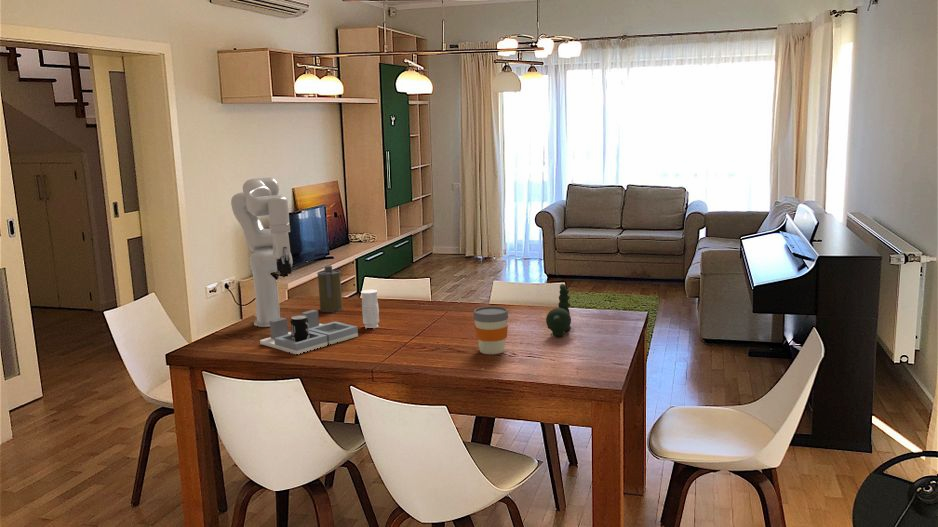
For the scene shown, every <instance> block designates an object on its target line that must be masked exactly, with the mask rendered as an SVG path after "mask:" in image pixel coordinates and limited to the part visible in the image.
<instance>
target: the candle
mask: <svg viewBox="0 0 938 527" xmlns="http://www.w3.org/2000/svg"><path fill="white" fill-rule="evenodd" d="M360 293H361V312H362V313H361V314H362V324H364V326H363V327H365V328H364V329H367V328H373V329H377V328H379V324H378V323H379V322H380V314H379V313H380V312H379V308H380V307H379V303H378V290H377V289H363V290H361V291H360Z"/></svg>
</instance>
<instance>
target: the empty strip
mask: <svg viewBox="0 0 938 527" xmlns="http://www.w3.org/2000/svg"><path fill="white" fill-rule="evenodd" d="M300 315H306V316H307V319H308V325H309V331H312V332H316V333H319V334H323V335H327V344H329V346H331V345H333V344H337V342H338V343H341V342H344V341H347V340H351V339H355V338H356V337H359V331H358V326H356V325H352V324H347V323H344V322H340V321H336V320H335V321H332V322H327V323H320V318H319V310H317V309H310V310H307V311H304V312H301V314H300ZM330 344H331V345H330Z"/></svg>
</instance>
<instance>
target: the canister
mask: <svg viewBox="0 0 938 527" xmlns="http://www.w3.org/2000/svg"><path fill="white" fill-rule="evenodd" d="M341 273H342V272H341V270H339V269H333V265H332V264H331V265H325V266H324V269H323V270H319V271H318V272H316V274H317V279H318V280H317V282H318V296H319V311H320V312H322V313H335V311H336V312H339V311H342V310H343V309H344V307H343V298H342V297H343V296H342V280H341Z"/></svg>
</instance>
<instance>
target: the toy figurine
mask: <svg viewBox="0 0 938 527" xmlns="http://www.w3.org/2000/svg"><path fill="white" fill-rule="evenodd" d="M569 292H570V291H569V289H568V288H567V285H566V284H564V283H561V284H560V285H559V296H558V301H559V302H558V304H557V306H558V307H555V308H553V309H551V310H549V312H548V313H547V315H546V316H545V317H546V318H545V323H546V326H547V328H548V329H549V330H550V331H551V332H552V336H553V337H554V338H559V339H560V338H563V337H564V335H565V333H569V332H570V331H571V329H572V328H571V327H572V326H571V323H572V317H571V312H570V309H569V307H571V304H570V302H569V300H570V299H571V297H570V296H569ZM564 332H565V333H564Z"/></svg>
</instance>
